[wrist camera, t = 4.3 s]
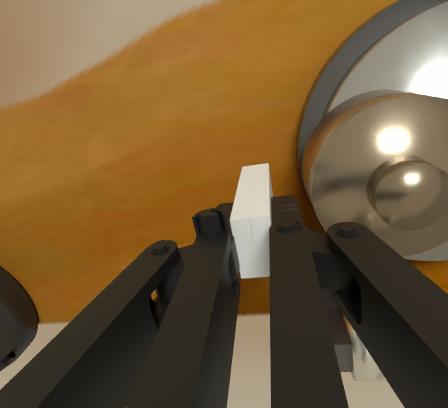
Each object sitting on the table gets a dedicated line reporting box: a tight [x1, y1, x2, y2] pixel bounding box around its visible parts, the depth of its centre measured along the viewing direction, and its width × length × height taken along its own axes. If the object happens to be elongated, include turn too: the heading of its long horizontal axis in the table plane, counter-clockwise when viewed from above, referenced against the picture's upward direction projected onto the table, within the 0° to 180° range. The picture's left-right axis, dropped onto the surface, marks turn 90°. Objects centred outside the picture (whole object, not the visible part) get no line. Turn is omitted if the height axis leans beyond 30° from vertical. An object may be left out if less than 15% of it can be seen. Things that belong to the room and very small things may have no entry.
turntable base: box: [297, 0, 448, 203], centre depth 19 cm, size 17×17×2 cm
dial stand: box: [320, 288, 384, 381], centre depth 19 cm, size 3×4×11 cm
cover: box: [302, 89, 448, 257], centre depth 15 cm, size 8×8×6 cm
